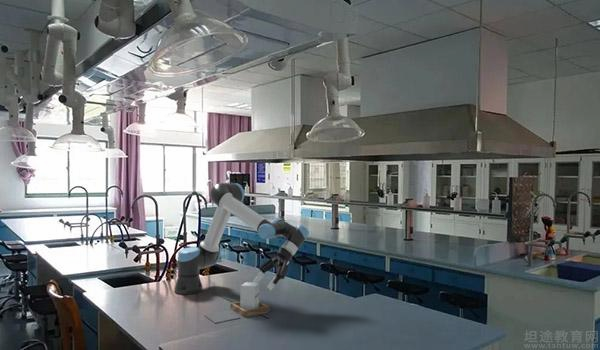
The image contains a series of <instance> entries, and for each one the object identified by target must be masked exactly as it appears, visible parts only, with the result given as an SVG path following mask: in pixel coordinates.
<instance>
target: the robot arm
mask: <svg viewBox="0 0 600 350" xmlns="http://www.w3.org/2000/svg"><path fill="white" fill-rule="evenodd" d="M245 195H246V194H245V190H244V188H243V186H242V185H241V184H239V183H236V182H219V183H216V184H214V185H213V186H212V187H211V189H210V191H209V197H210V200H211V201H212V203H213V204H214V205H215V206H216V210H215V212H214V214H213V216H212V219H211V222H210V225H209V227H208V229H207V232H206V235H205V238H204V240H203V241H201V242H200V243H199V246H198V247H196V246H190V247H185V248H182V249H180V250H179V252H178V253H177V254H178V255H177V279H176V282H175V285H174V288H173V289H174V290H173V291H174V293H175V292H176V293H175V294H179V295H191V294H192V295H193V294H194V295H195V294H197V293H201V292H203V283H202V281H201V277H200V270H202V269H206V268H210V267H213V266H215V265H216V264H217V263H218V262H219V260H220V259H221V258H220V257H221V254H220V247H219V245H220V242H221V240H222V237H223V234H224V232H225V229H226V227H227V225H228V222H229V219H230V217H231V214H232V215H233V216H235V218H238V219H239V220H240V221H242V222H243V223H245V224H246V225H248V226H249V227H251V229H253V230H255V231H256V232H257V234H258V237H260V238H261V239H262V240H271V239H275V238H279V237H283V238H284V239H286V240H285V241H284V243H283V244H282V246H281V247H280V248H279V249H278V250H277V253H276V254H277V256H275V255H272V256H271V257H270V258H269V259H268V260H266V262H264V263H263V264H261V266H259V268H258V269H259V272H258V273H257V274H256V276H255V278H253V280H252V282H253V283H260V281H261V279H263V277H264V276H265V275H266V274H265V273H267V272H268V271H270V270H272V269H273V268H277V271H276V274H275V275H274V276H273V278H272V279H271V280H270V282H269V283H268V285H267V286H266V288H267V289H268V290H269V291H272V290H273V289H274V287H275V286H276V285H277V284H278V282H279V281H280V280H284V279H285V277H286V275H287V272H288V268H289V266H290V264H291V262H290V261H291V260H292V258H293V256H294V255H295V254H296V253H297V251H298V250H299V248H300V247H301V246H302V245H303V244H304V242H305V241H306V239H307V238H308V236H309V234H310V232H309V229H308V228H307V227H306V226H304V225H302V224H298V225H297V226H295V225H292V224H290V223H289V222H287V221H285V220H284V219H282V218H280V217H278V218H277V217H276V218H275V219H274V220H273V221H272V222H271V221H269V220H267V219H266V218H265V217H263V216H262V215H260V214H259V213H257V212H256V211H254V210H253V209H251V208H250V207H249V206H247V205H246V204H245V203H242V202H243V201H244V198H245Z"/></svg>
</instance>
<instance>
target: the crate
mask: <svg viewBox="0 0 600 350" xmlns="http://www.w3.org/2000/svg"><path fill="white" fill-rule="evenodd" d="M229 304H230V305H229V306H230V310H232V311H234V312H236V313H237V314H238V315H241V316H242V317H244V318H248V317H253V316H256V315H257V316H258V315H262V314H267V313H270V306H269V305H267V304H265V303H263V302H261V301H259V308H256V309H251V310H244V309H242V308H241V307H240V301H236V302H230V303H229Z"/></svg>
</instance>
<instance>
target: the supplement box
mask: <svg viewBox="0 0 600 350" xmlns="http://www.w3.org/2000/svg"><path fill="white" fill-rule="evenodd" d="M239 290H240V294H239V295H240V297H239V298H240V299H239V300H240V301H239V302H240V307H241V308H242V309H244V310H251V309H256V308H259V302H260V282H258V283H254V282H253V281H251V282H250V281H249V282H247V281H246V282H245V281H244V283H243V284H241V285H240V289H239Z"/></svg>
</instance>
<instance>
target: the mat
mask: <svg viewBox="0 0 600 350" xmlns="http://www.w3.org/2000/svg"><path fill="white" fill-rule="evenodd" d="M203 316H204V317H206V318H207V319H208V320H209V321H211V322H212V323H214V324H220V323H225V322H228V321H233V320H238V319H240V318H241V317H240V316H238V315H237V314H235V313H233V312H232V311H230V310H224V311H217V312H213V313H207V314H204V315H203Z"/></svg>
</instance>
